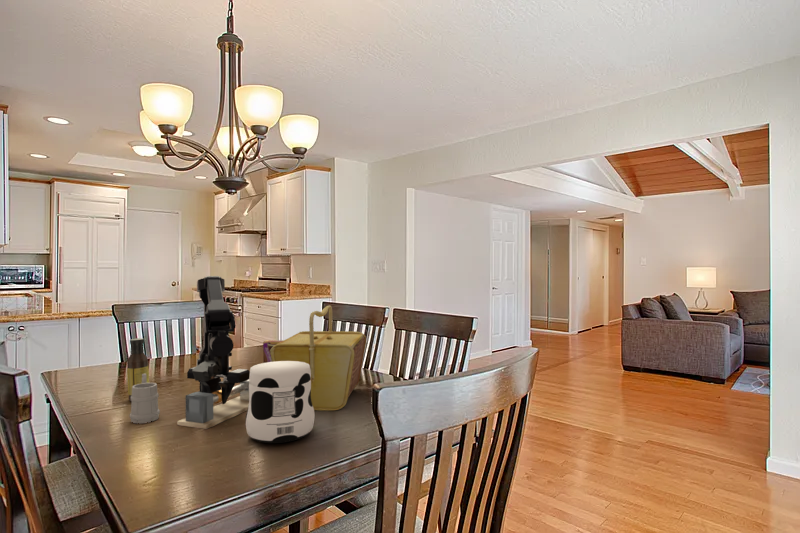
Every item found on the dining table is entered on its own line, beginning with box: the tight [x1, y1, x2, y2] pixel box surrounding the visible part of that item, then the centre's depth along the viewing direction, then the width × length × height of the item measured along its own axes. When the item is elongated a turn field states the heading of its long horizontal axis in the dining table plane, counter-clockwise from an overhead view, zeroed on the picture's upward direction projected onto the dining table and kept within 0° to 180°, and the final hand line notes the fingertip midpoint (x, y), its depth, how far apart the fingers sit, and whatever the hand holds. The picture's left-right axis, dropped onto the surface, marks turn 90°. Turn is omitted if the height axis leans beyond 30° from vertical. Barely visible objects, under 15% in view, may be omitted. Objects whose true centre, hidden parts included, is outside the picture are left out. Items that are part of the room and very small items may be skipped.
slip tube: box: [212, 382, 249, 405], centre depth 144 cm, size 22×3×3 cm, turn 161°
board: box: [176, 395, 249, 430], centre depth 146 cm, size 33×10×1 cm, turn 161°
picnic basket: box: [270, 304, 367, 412], centre depth 157 cm, size 29×26×30 cm
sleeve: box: [239, 380, 249, 401], centre depth 157 cm, size 9×4×6 cm, turn 161°
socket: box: [185, 391, 214, 423], centre depth 133 cm, size 4×6×7 cm, turn 71°
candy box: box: [262, 339, 285, 363], centre depth 182 cm, size 9×4×15 cm, turn 89°
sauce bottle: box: [126, 337, 150, 402], centre depth 158 cm, size 6×6×20 cm
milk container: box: [244, 361, 315, 444], centre depth 123 cm, size 17×17×18 cm
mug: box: [129, 374, 161, 424], centre depth 139 cm, size 8×12×12 cm, turn 30°
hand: (218, 403), depth 141 cm, fingers closed on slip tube, 3 cm apart
